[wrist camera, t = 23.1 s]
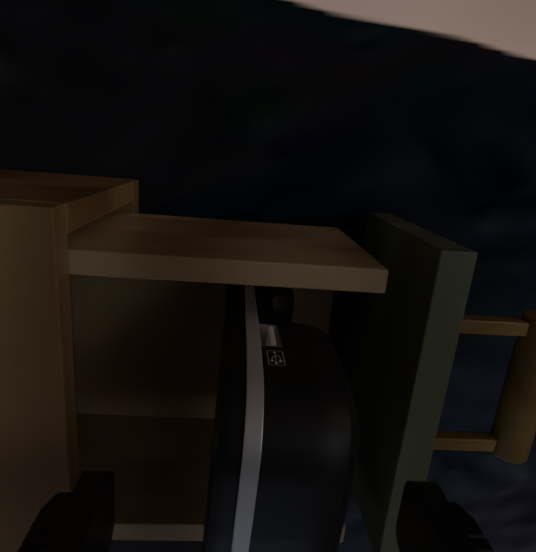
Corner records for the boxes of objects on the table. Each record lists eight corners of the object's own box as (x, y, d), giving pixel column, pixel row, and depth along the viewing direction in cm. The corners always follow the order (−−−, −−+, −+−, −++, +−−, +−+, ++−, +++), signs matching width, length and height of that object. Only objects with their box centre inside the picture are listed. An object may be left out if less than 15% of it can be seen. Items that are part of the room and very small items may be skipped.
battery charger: (290, 400, 22) (340, 650, 11) (216, 395, 22) (192, 647, 11) (310, 270, 20) (393, 418, 9) (229, 262, 20) (215, 407, 9)
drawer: (509, 222, 21) (658, 265, 14) (456, 438, 25) (551, 566, 17) (58, 188, 19) (-59, 215, 12) (71, 426, 23) (-11, 562, 15)
